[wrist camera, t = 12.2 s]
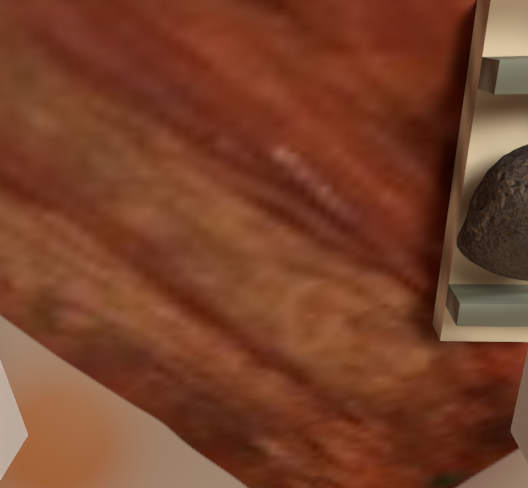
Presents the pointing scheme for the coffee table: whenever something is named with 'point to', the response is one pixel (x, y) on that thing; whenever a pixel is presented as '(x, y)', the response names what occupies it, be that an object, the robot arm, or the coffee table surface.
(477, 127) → the cream and green rack
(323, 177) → the coffee table surface
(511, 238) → the stone
